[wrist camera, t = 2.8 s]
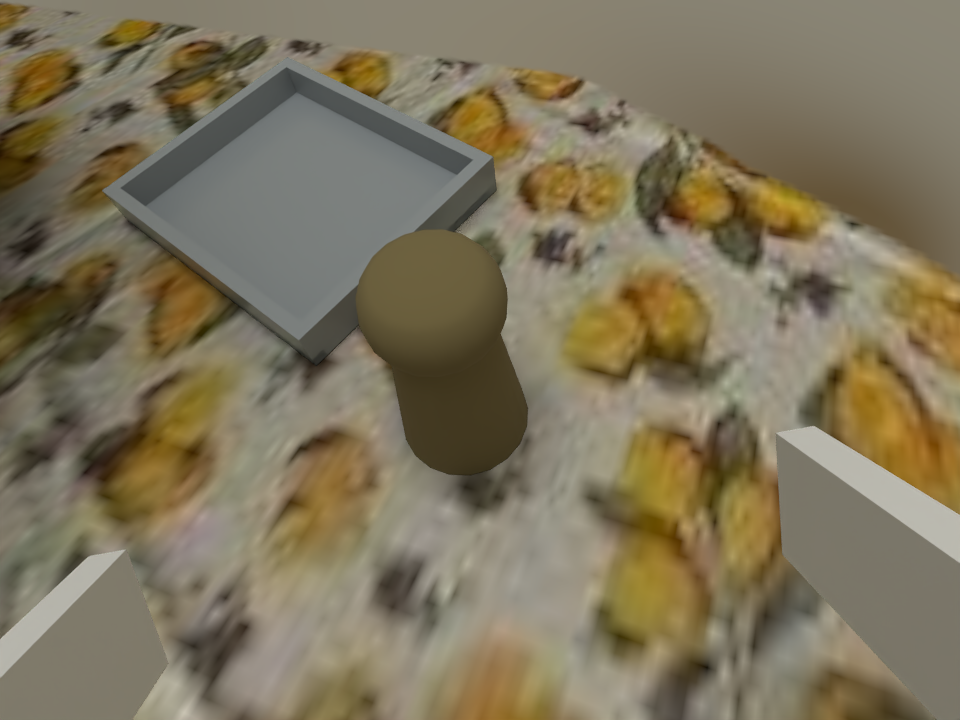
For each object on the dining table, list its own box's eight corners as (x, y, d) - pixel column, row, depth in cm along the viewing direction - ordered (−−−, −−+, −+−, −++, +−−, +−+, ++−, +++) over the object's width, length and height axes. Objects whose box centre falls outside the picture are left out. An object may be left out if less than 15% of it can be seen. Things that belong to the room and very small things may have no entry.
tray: (127, 220, 38) (102, 190, 35) (300, 89, 43) (287, 57, 40) (316, 365, 31) (298, 340, 29) (496, 189, 36) (493, 156, 34)
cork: (446, 342, 31) (400, 180, 21) (550, 392, 29) (551, 237, 19) (378, 437, 28) (292, 303, 19) (486, 499, 26) (451, 384, 17)
